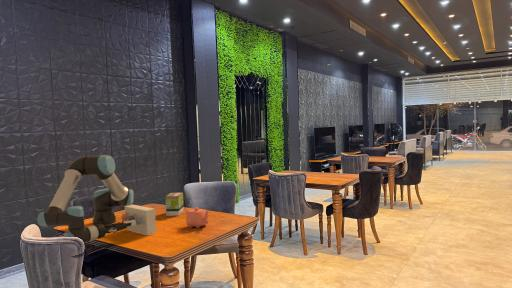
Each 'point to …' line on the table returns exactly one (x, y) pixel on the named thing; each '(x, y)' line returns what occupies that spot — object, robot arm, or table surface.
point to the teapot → (196, 217)
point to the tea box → (174, 204)
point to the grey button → (131, 218)
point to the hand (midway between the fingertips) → (134, 222)
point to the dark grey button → (138, 220)
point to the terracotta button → (124, 217)
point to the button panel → (147, 219)
